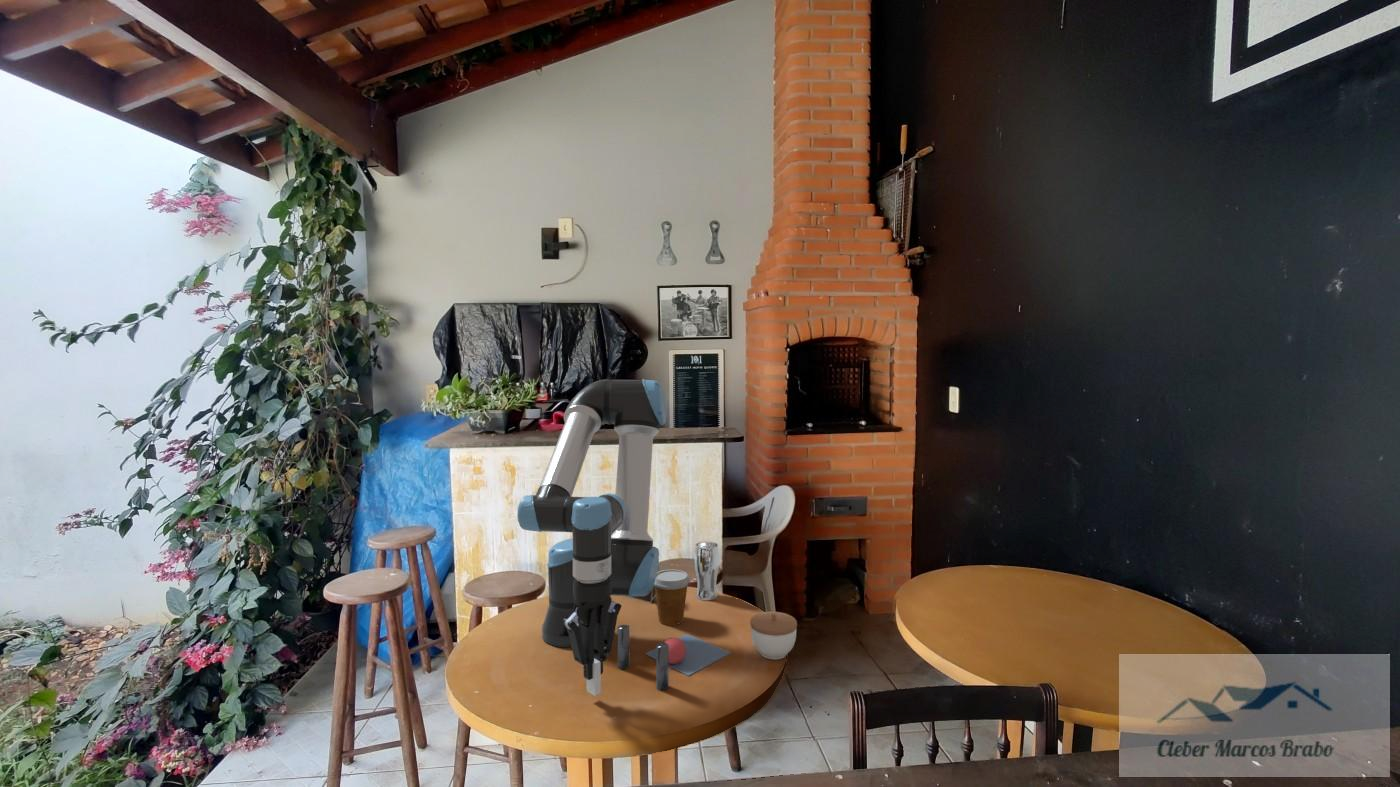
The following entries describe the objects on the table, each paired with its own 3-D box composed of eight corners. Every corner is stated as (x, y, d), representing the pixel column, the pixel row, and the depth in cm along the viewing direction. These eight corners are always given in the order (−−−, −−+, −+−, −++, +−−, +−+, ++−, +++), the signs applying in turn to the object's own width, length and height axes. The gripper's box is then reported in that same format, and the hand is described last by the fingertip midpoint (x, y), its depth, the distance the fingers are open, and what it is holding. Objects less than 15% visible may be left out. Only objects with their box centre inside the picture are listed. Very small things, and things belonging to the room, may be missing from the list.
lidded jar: (757, 639, 154) (757, 601, 153) (801, 646, 150) (801, 608, 150) (744, 659, 144) (744, 619, 143) (790, 668, 140) (791, 627, 140)
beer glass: (716, 602, 177) (716, 549, 175) (692, 600, 178) (692, 547, 177) (720, 592, 183) (721, 541, 182) (697, 590, 185) (697, 540, 184)
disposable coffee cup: (652, 613, 169) (652, 569, 168) (688, 612, 170) (688, 568, 169) (652, 629, 160) (652, 582, 159) (690, 627, 161) (690, 581, 160)
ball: (666, 629, 144) (678, 641, 147) (652, 651, 142) (664, 663, 145) (682, 637, 140) (694, 650, 143) (668, 660, 138) (681, 672, 141)
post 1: (615, 666, 141) (615, 627, 140) (624, 662, 143) (624, 623, 142) (622, 670, 139) (622, 630, 138) (632, 666, 141) (631, 627, 140)
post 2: (653, 687, 132) (653, 645, 131) (662, 682, 134) (662, 641, 133) (662, 692, 130) (662, 649, 130) (671, 687, 132) (671, 645, 132)
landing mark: (645, 654, 146) (645, 653, 146) (687, 634, 157) (687, 633, 157) (688, 676, 137) (688, 675, 137) (730, 653, 147) (730, 652, 147)
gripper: (576, 591, 118) (577, 712, 120) (630, 573, 127) (630, 686, 129) (553, 580, 123) (555, 697, 125) (606, 564, 133) (607, 673, 134)
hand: (593, 691), depth 127 cm, fingers closed
